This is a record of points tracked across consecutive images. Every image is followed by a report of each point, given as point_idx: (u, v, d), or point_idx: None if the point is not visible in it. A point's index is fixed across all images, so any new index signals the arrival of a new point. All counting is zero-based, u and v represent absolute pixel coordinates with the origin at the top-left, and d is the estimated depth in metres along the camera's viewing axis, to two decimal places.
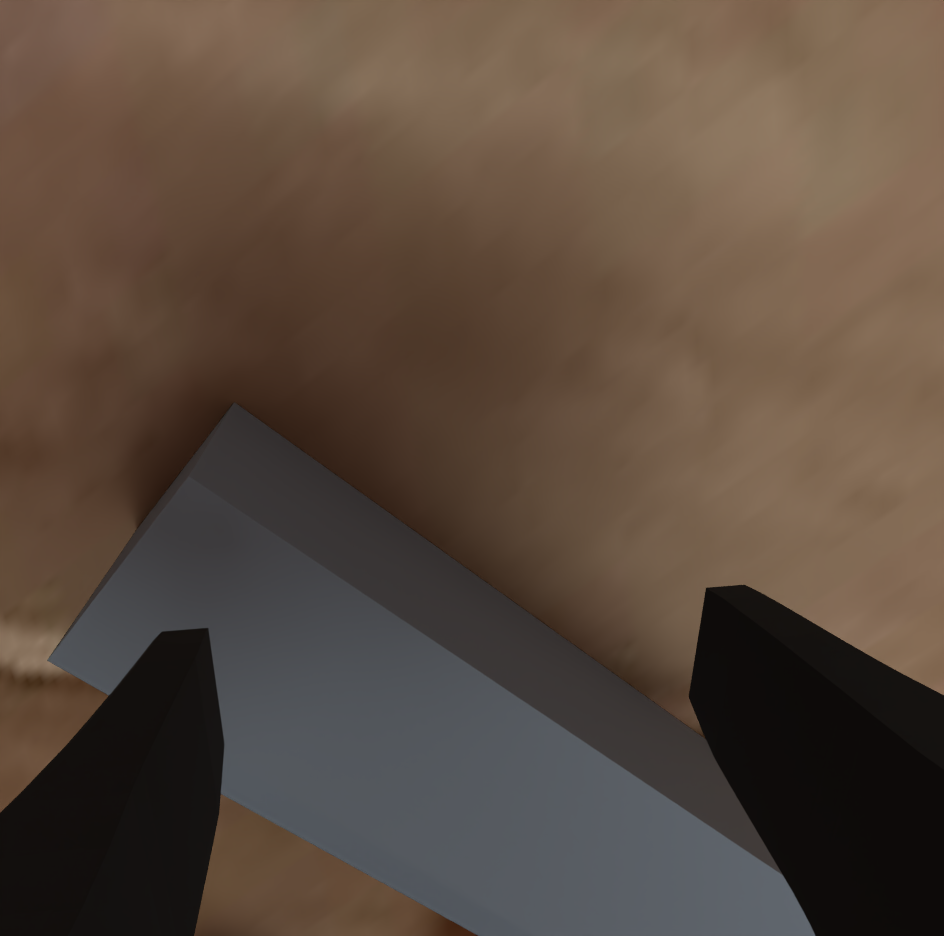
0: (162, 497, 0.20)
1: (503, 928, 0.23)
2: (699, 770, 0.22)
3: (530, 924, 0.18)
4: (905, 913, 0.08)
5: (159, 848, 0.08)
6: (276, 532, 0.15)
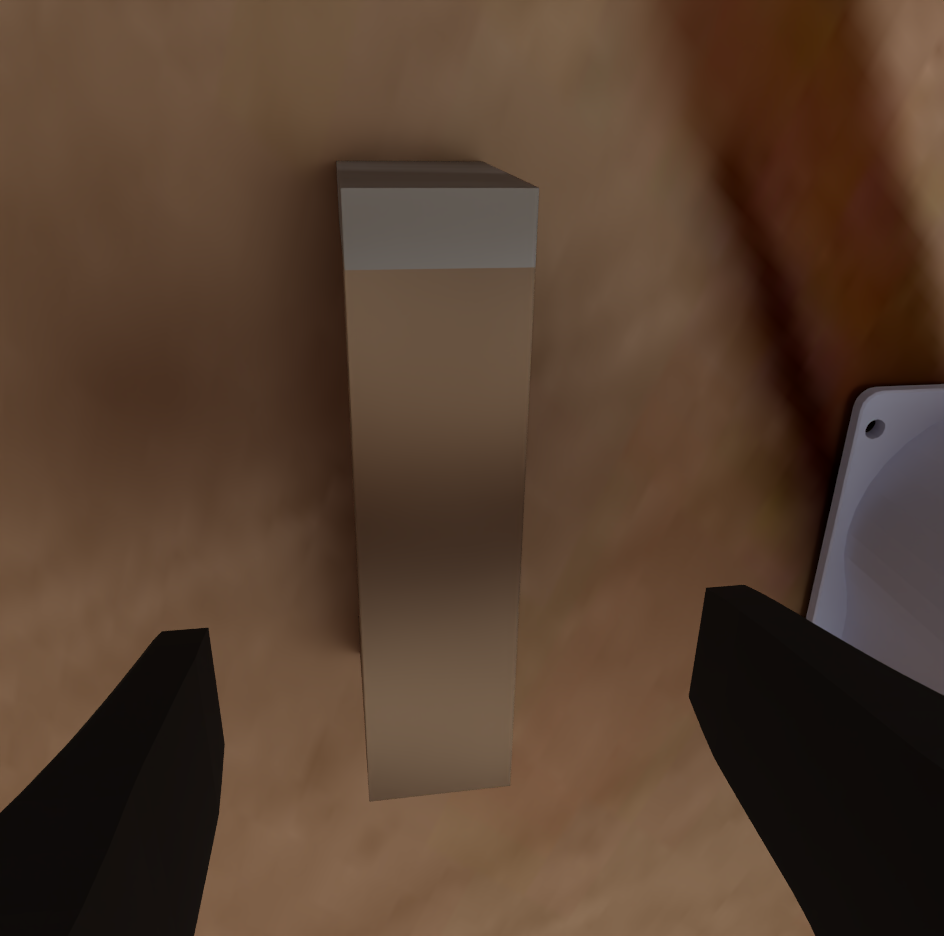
0: None
1: None
2: None
3: None
4: (905, 913, 0.08)
5: (159, 848, 0.08)
6: None
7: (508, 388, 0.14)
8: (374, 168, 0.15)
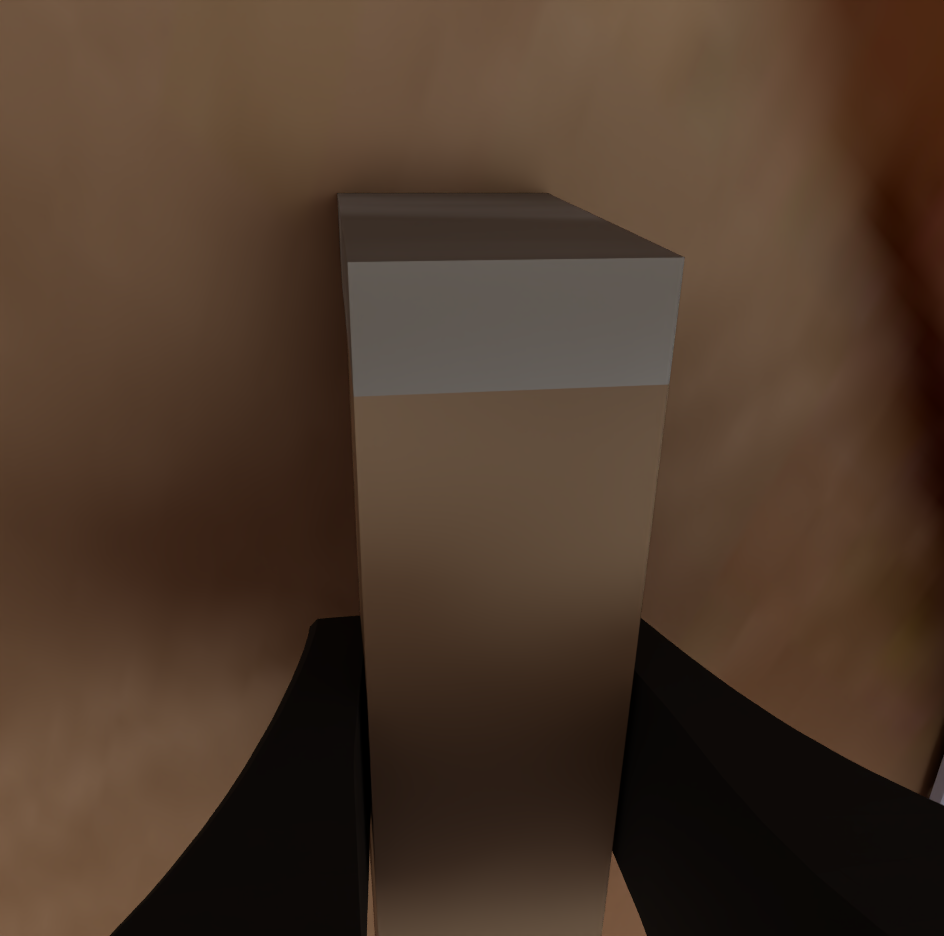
0: None
1: None
2: None
3: None
4: None
5: (359, 824, 0.09)
6: None
7: (614, 567, 0.09)
8: (396, 209, 0.10)
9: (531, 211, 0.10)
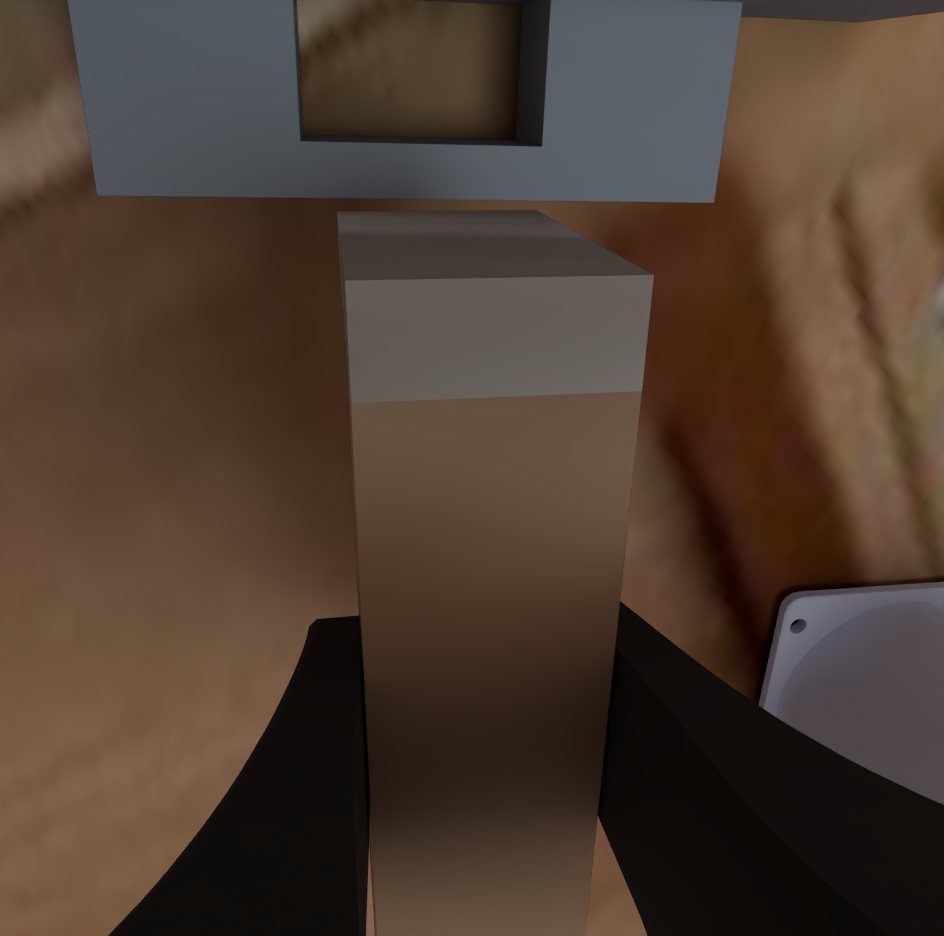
0: None
1: (644, 172, 0.17)
2: None
3: None
4: None
5: (357, 824, 0.09)
6: None
7: (593, 561, 0.09)
8: (391, 228, 0.11)
9: (518, 229, 0.11)
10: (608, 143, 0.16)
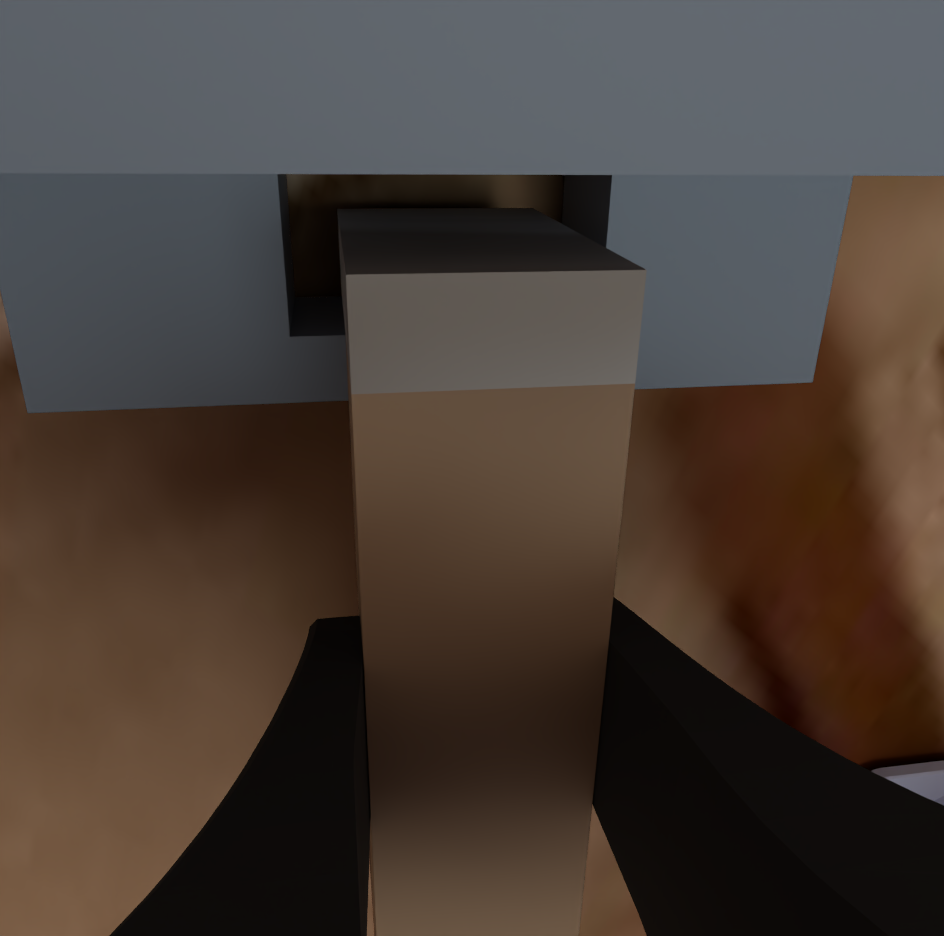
0: None
1: (727, 352, 0.13)
2: None
3: (669, 151, 0.07)
4: None
5: (358, 824, 0.09)
6: None
7: (588, 550, 0.10)
8: (390, 224, 0.11)
9: (515, 226, 0.11)
10: (683, 320, 0.13)
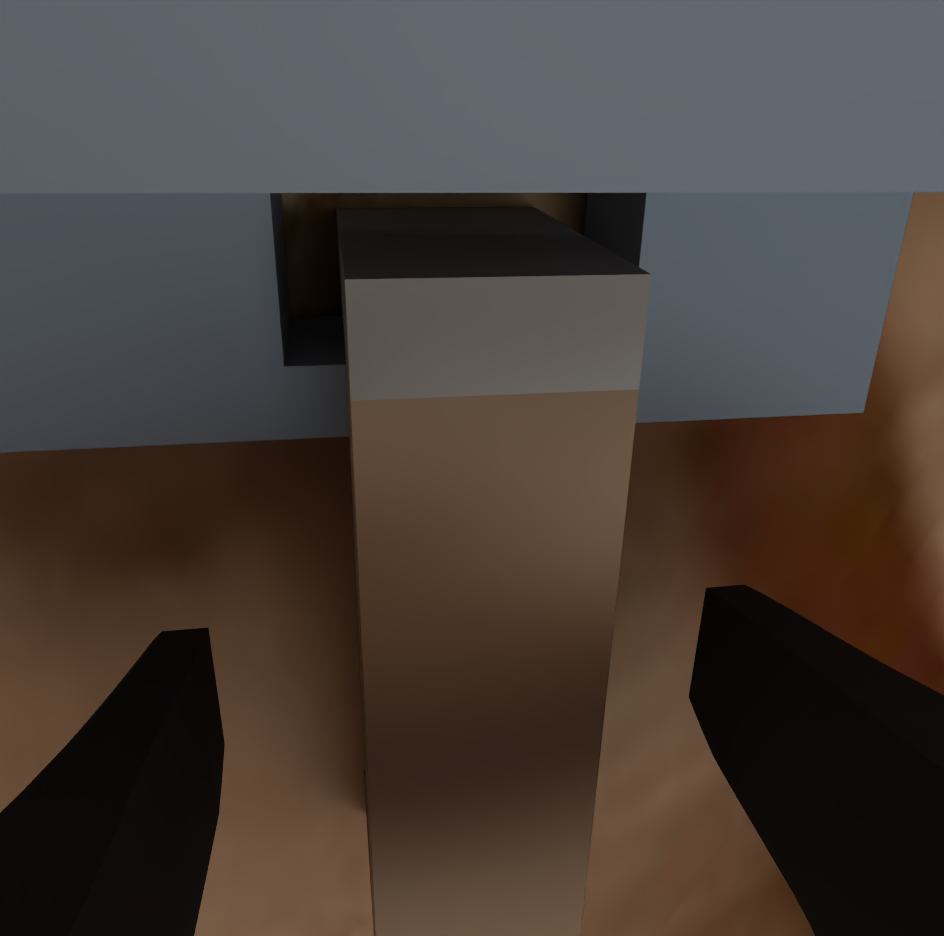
0: None
1: (771, 380, 0.12)
2: None
3: (745, 164, 0.06)
4: (905, 913, 0.08)
5: (159, 848, 0.08)
6: None
7: (591, 557, 0.09)
8: (390, 225, 0.11)
9: (516, 227, 0.11)
10: (723, 346, 0.11)
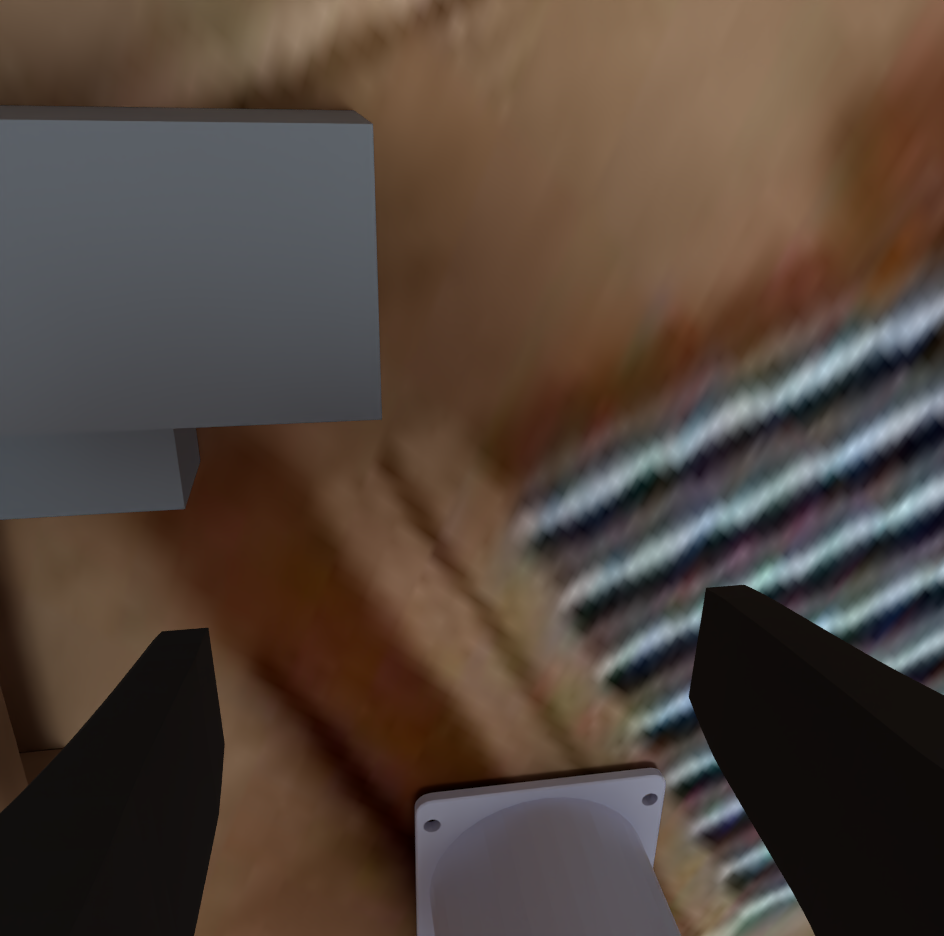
0: None
1: (103, 489, 0.17)
2: (40, 111, 0.13)
3: None
4: (905, 913, 0.08)
5: (159, 848, 0.08)
6: None
7: None
8: None
9: None
10: (56, 468, 0.17)
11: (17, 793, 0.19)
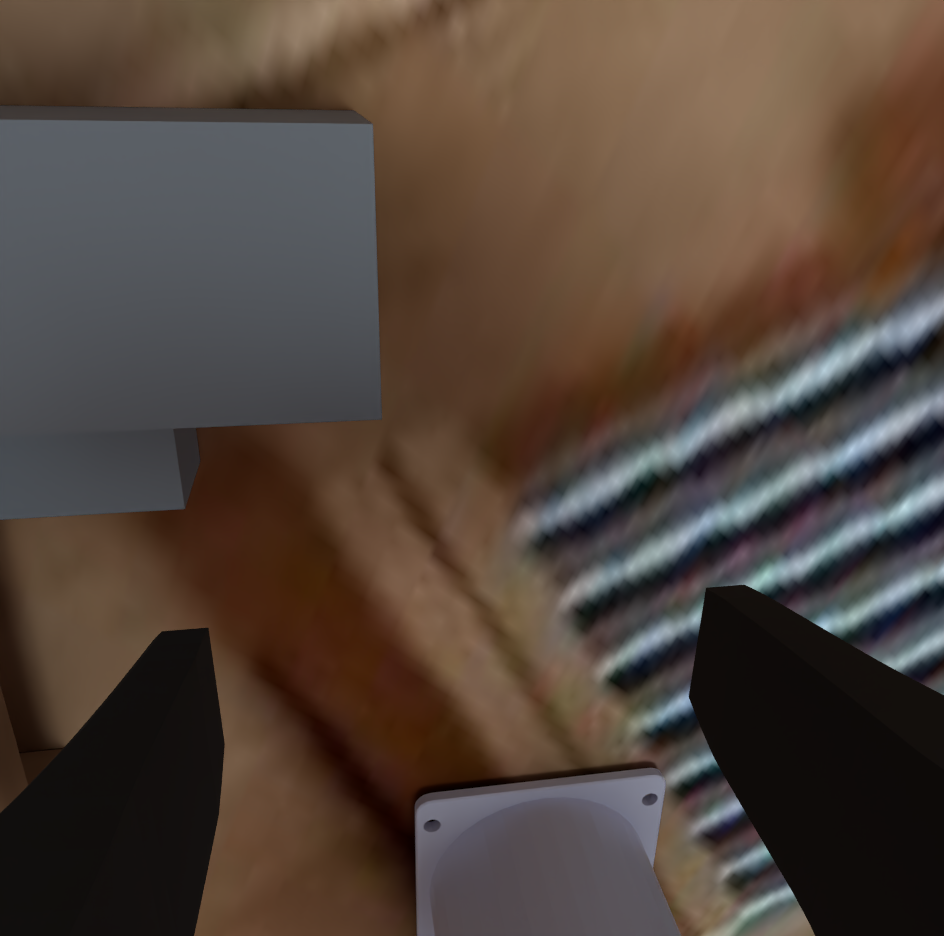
0: None
1: (103, 489, 0.17)
2: (40, 111, 0.13)
3: None
4: (905, 913, 0.08)
5: (159, 848, 0.08)
6: None
7: None
8: None
9: None
10: (56, 468, 0.17)
11: (17, 793, 0.19)
